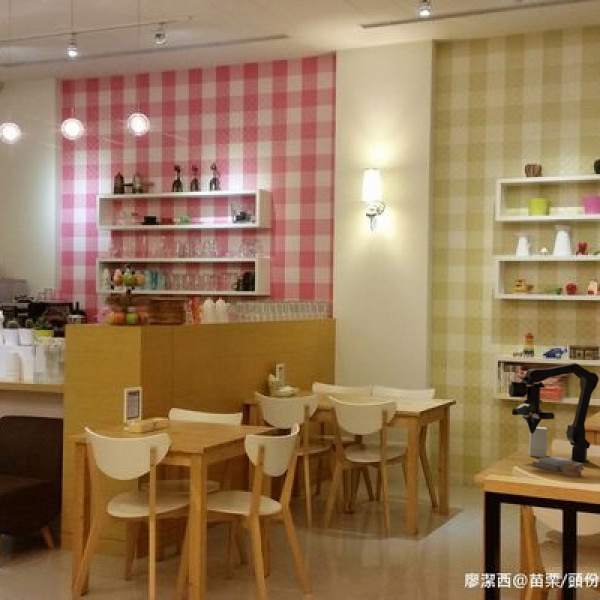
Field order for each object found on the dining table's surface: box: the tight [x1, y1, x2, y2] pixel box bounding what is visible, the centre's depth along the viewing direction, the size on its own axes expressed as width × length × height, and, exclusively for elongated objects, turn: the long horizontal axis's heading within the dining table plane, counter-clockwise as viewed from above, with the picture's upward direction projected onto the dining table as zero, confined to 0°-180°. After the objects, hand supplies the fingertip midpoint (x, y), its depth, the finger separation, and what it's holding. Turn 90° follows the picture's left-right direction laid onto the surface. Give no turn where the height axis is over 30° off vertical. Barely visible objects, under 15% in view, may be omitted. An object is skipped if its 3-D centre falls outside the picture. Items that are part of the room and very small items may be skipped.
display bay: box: [531, 460, 584, 473], centre depth 381 cm, size 16×13×2 cm
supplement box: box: [528, 426, 548, 458], centre depth 410 cm, size 7×7×13 cm
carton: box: [538, 456, 574, 466], centre depth 379 cm, size 10×9×4 cm
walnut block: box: [562, 464, 582, 477], centre depth 364 cm, size 5×5×4 cm
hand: (532, 433), depth 397 cm, fingers closed
